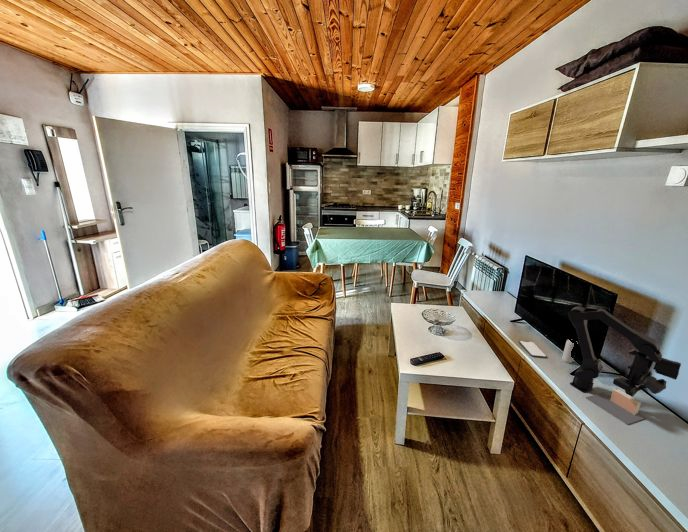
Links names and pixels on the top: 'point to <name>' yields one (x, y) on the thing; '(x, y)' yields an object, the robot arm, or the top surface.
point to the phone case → (532, 349)
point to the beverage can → (568, 352)
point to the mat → (614, 408)
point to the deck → (625, 401)
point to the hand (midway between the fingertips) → (629, 398)
